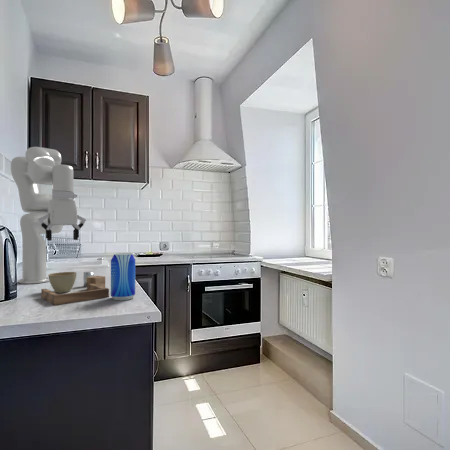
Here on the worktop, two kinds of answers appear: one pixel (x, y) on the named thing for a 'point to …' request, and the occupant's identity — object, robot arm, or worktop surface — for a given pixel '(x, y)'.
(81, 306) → the worktop surface
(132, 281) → the beer can
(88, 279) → the walnut block
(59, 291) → the flower pot
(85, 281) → the grey metal cylinder
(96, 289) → the bay
